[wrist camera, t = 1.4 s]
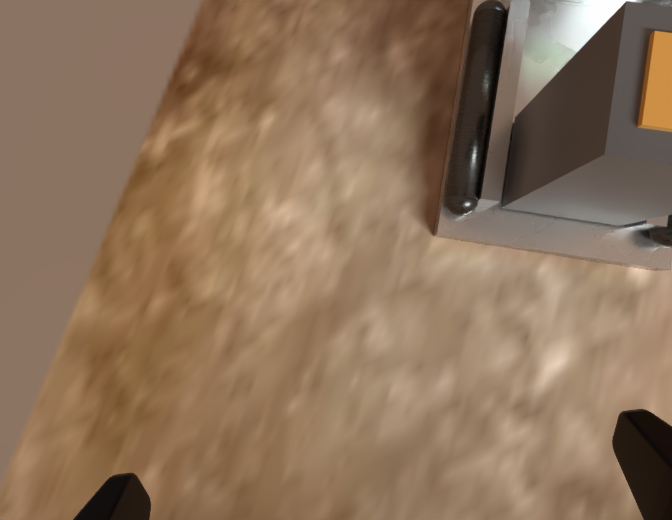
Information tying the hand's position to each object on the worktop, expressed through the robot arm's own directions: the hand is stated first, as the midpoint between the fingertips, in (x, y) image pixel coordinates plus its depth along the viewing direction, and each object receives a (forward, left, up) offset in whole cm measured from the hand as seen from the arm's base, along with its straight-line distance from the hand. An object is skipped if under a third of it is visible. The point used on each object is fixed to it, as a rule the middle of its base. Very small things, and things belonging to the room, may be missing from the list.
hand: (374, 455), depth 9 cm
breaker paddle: (-6, -10, -12) cm, 17 cm away
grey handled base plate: (-5, -12, -13) cm, 19 cm away
